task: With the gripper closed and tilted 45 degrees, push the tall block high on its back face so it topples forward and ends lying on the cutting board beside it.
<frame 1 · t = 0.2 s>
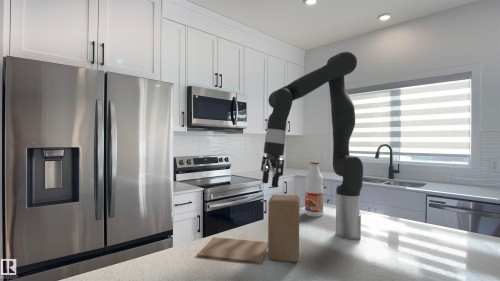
hand: (269, 185, 98), 23 cm above the countertop, tool pointing down, fingers open, 8 cm apart
block: (284, 256, 89), on the countertop
fruit juice: (313, 214, 139), on the countertop
cutting board: (234, 250, 93), on the countertop
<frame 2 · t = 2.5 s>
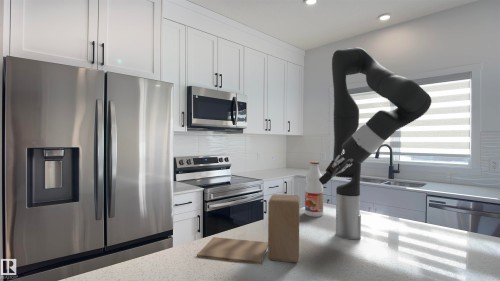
hand: (321, 182, 82), 26 cm above the countertop, tool tilted 45°, fingers closed
nothing on the countertop moved.
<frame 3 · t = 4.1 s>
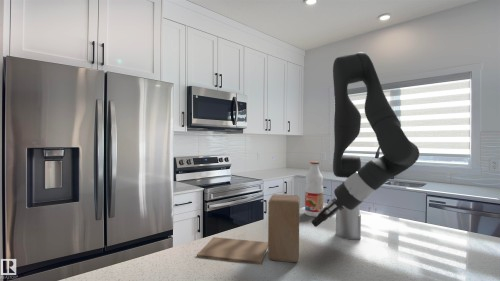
hand: (313, 223, 83), 13 cm above the countertop, tool tilted 45°, fingers closed
nothing on the countertop moved.
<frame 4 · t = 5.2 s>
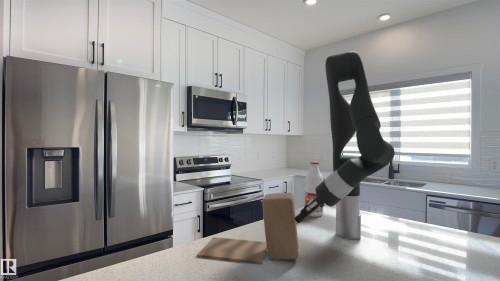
hand: (296, 220, 86), 13 cm above the countertop, tool tilted 45°, fingers closed
block: (284, 254, 89), on the countertop, touching gripper
everything else where it was.
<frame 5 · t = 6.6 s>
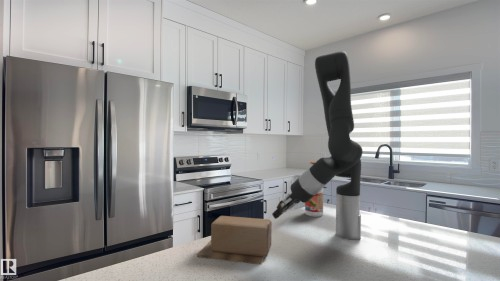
hand: (274, 216, 91), 13 cm above the countertop, tool tilted 45°, fingers closed
block: (270, 237, 90), point 6 cm above the countertop, touching cutting board
everything else where it was.
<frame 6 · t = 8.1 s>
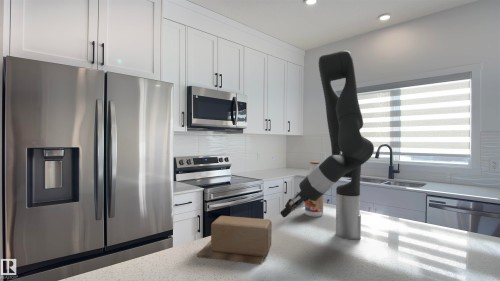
hand: (282, 214, 90), 14 cm above the countertop, tool tilted 45°, fingers closed
nothing on the countertop moved.
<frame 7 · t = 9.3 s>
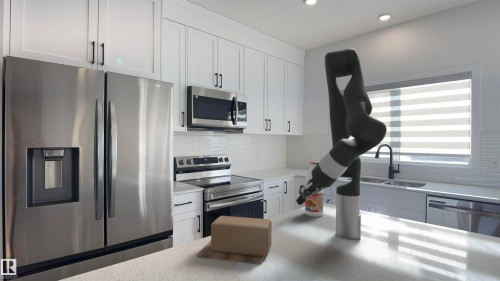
hand: (298, 202, 89), 18 cm above the countertop, tool tilted 45°, fingers closed
nothing on the countertop moved.
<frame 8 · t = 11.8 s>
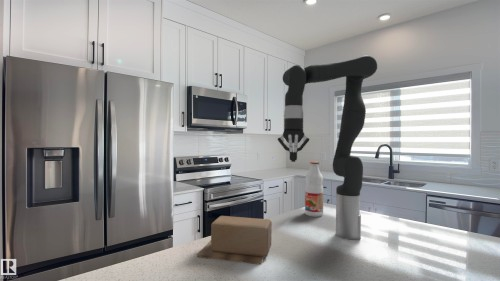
hand: (293, 161, 103), 31 cm above the countertop, tool pointing down, fingers closed
nothing on the countertop moved.
at the end: block tilted 90°; block touching cutting board; the gripper is holding nothing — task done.
